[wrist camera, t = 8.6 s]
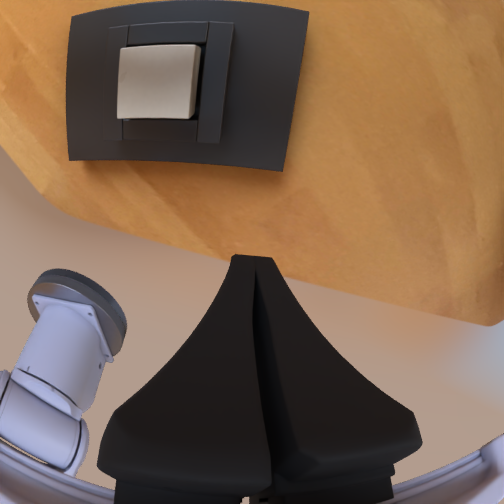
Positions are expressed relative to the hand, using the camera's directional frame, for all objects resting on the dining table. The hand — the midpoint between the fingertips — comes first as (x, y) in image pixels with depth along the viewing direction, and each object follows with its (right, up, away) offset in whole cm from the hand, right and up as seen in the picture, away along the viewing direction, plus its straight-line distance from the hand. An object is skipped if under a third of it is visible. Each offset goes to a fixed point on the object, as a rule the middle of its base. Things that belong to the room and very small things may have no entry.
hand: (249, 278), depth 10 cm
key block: (-4, +11, +5) cm, 13 cm away
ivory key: (-4, +10, +2) cm, 11 cm away
